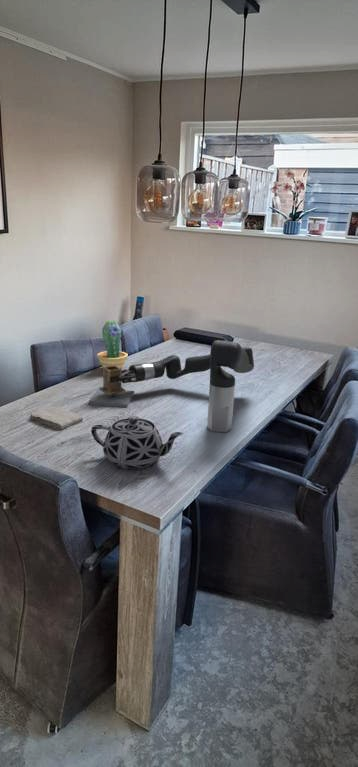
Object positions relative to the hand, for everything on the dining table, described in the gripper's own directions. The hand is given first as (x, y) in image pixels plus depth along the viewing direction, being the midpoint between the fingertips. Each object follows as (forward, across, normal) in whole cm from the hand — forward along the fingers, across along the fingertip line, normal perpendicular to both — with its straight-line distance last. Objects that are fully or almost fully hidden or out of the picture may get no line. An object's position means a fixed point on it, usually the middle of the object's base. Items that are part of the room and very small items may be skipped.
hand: (106, 378), depth 214 cm
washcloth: (+26, -10, -10) cm, 30 cm away
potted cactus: (-22, +37, -10) cm, 44 cm away
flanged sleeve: (-3, 0, -6) cm, 7 cm away
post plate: (-2, 0, -10) cm, 10 cm away
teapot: (+17, -54, -10) cm, 58 cm away
